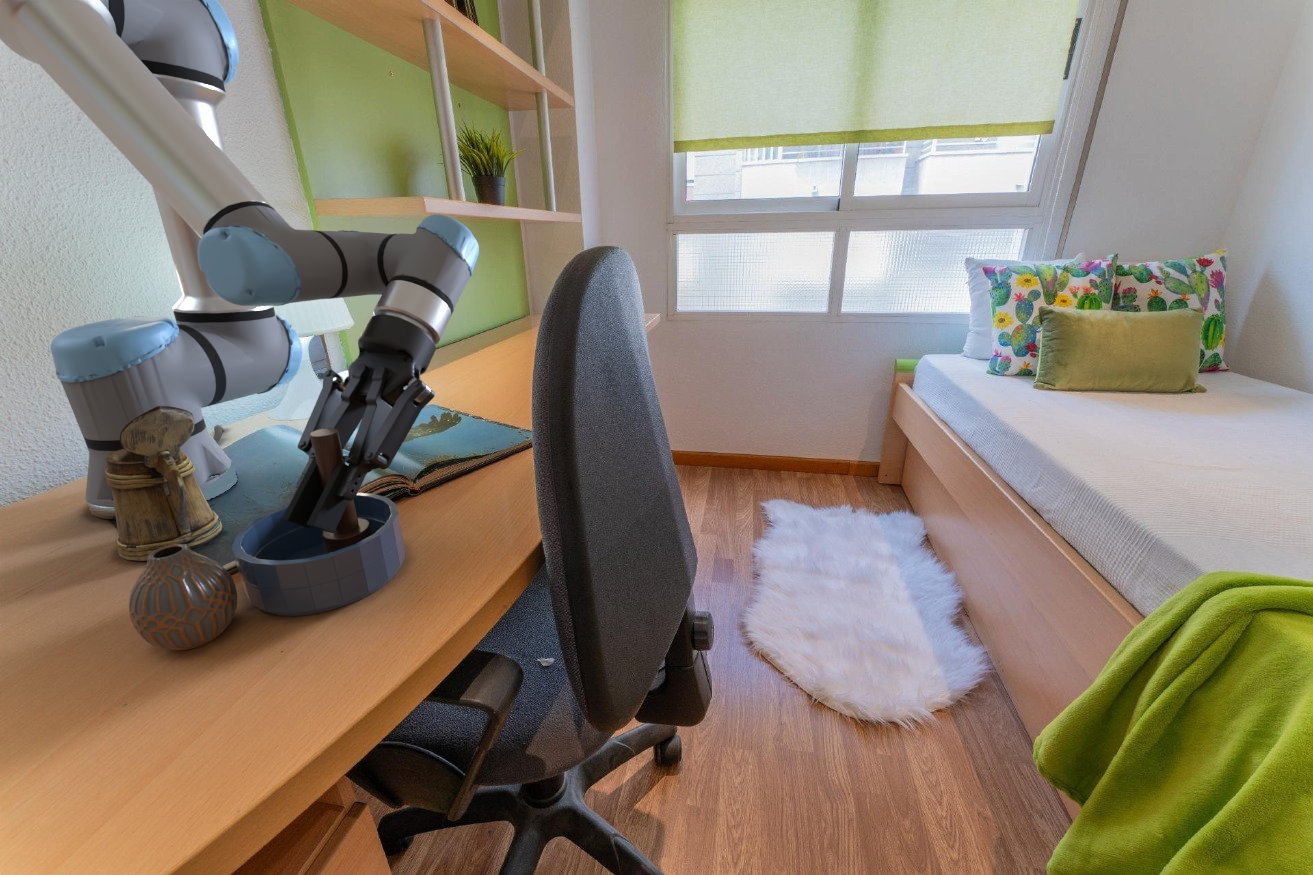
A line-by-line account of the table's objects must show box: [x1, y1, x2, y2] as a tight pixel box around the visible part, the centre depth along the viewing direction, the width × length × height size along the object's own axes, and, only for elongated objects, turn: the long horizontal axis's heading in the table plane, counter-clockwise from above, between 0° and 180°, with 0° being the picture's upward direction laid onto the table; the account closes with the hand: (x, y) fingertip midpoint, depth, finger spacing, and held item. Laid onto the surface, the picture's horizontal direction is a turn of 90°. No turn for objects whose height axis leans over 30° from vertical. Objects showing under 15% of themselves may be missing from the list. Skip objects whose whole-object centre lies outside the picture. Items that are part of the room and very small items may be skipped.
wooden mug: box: [105, 406, 223, 562], centre depth 57 cm, size 9×14×18 cm, turn 61°
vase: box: [128, 544, 238, 651], centre depth 45 cm, size 7×7×9 cm
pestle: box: [310, 428, 372, 554], centre depth 54 cm, size 4×4×15 cm
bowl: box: [231, 492, 406, 617], centre depth 55 cm, size 14×14×6 cm
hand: (308, 525), depth 51 cm, fingers closed on pestle, 2 cm apart
